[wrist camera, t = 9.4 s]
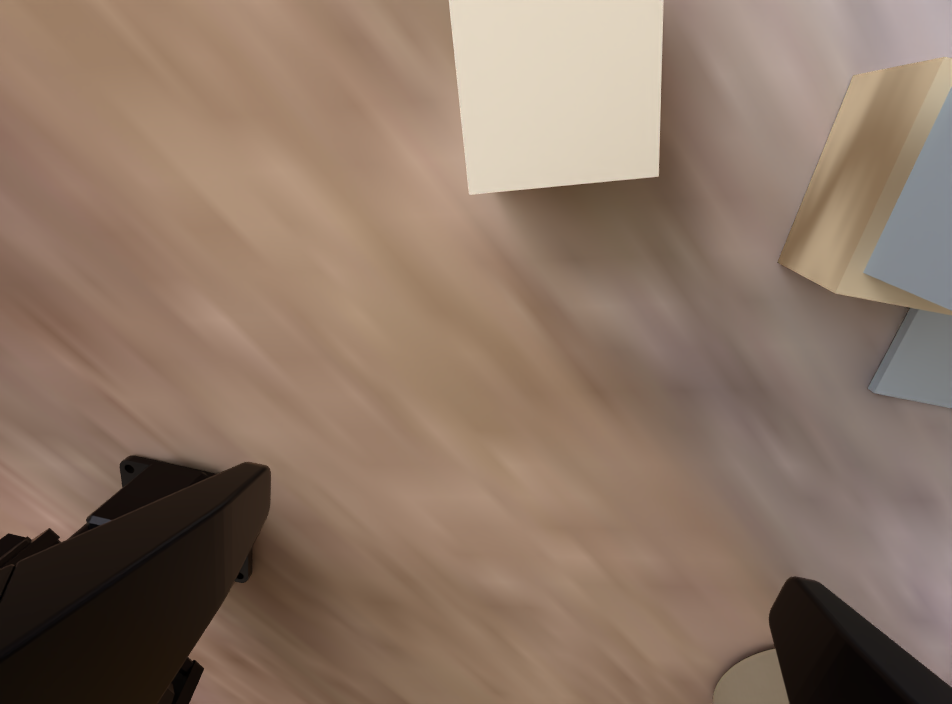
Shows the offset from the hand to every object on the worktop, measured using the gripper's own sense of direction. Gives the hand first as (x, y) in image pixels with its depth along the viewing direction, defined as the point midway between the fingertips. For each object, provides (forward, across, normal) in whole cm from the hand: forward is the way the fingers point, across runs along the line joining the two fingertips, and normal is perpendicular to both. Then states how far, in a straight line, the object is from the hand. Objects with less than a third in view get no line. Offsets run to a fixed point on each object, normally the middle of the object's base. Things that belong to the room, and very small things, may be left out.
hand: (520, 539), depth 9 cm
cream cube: (+12, +1, -8) cm, 15 cm away
